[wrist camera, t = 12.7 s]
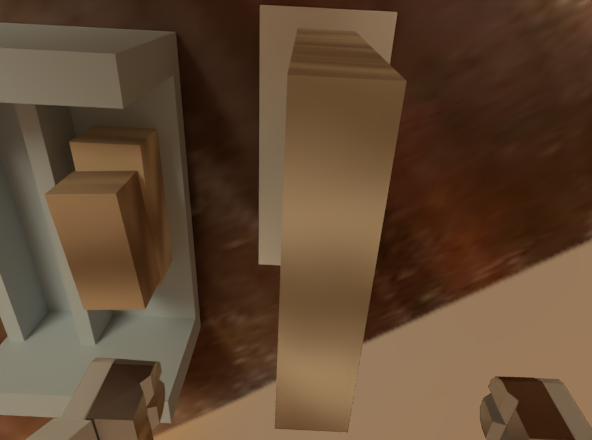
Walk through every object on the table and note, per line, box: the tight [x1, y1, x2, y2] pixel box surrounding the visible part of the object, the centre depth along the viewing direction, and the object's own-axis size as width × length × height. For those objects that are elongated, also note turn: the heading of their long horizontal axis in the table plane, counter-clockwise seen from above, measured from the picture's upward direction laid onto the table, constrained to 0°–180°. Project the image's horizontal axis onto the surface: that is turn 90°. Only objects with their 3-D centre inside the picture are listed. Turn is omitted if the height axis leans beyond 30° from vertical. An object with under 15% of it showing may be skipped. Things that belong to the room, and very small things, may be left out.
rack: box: [0, 23, 201, 423], centre depth 24 cm, size 21×12×8 cm, turn 177°
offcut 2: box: [44, 171, 161, 310], centre depth 23 cm, size 7×3×3 cm, turn 1°
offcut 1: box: [69, 126, 172, 287], centre depth 25 cm, size 9×4×3 cm, turn 177°
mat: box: [259, 5, 397, 265], centre depth 26 cm, size 16×7×1 cm, turn 177°
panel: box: [275, 28, 407, 432], centre depth 20 cm, size 14×3×13 cm, turn 177°
